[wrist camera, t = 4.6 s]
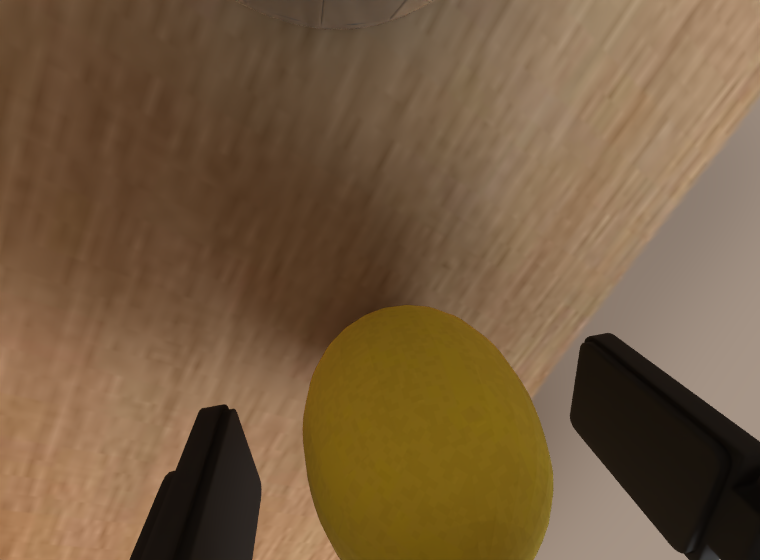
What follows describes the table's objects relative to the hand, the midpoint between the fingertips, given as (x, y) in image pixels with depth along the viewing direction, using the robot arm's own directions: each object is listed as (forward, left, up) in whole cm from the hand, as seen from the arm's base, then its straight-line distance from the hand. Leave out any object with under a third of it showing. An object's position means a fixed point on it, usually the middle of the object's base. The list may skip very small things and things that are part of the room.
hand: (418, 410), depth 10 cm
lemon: (0, 0, -4) cm, 4 cm away
